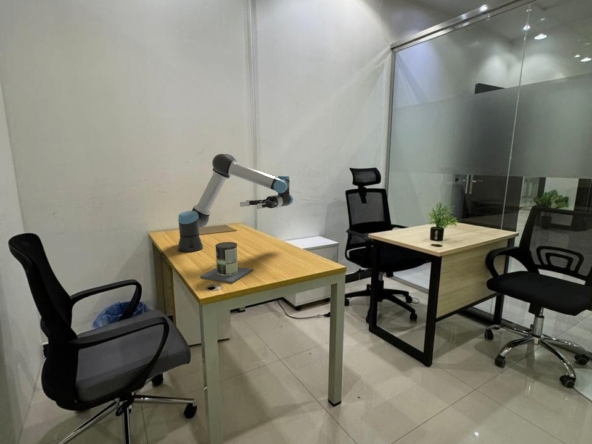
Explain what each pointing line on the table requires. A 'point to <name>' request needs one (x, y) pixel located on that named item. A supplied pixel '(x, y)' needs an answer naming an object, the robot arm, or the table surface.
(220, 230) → the table surface
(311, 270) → the table surface
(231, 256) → the coffee can
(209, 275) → the rubber mat
